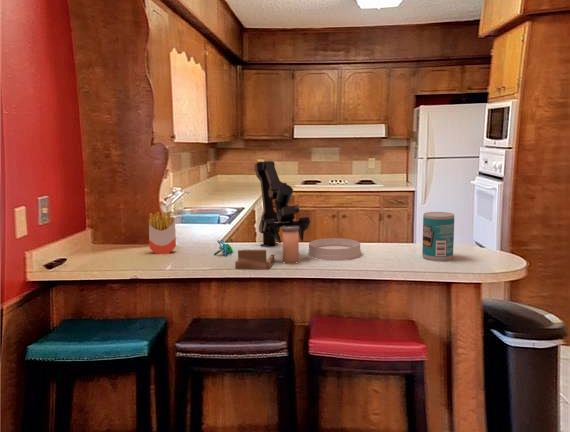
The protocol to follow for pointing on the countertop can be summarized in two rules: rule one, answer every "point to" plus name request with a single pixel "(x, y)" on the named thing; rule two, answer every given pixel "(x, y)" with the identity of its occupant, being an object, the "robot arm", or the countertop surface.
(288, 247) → the jar
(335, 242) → the dish
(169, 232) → the french fries container
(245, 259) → the brown wooden frame
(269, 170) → the robot arm
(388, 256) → the countertop surface
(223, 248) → the stick construction toy
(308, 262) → the countertop surface
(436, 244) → the food can
